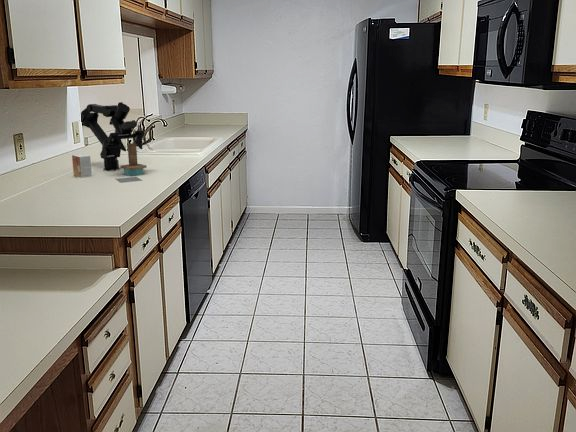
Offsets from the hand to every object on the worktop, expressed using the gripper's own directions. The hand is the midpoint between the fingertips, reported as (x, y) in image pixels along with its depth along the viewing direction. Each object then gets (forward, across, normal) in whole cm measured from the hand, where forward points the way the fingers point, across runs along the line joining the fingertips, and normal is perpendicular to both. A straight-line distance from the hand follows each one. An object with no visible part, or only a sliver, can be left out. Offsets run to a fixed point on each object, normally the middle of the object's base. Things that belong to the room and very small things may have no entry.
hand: (133, 149), depth 272 cm
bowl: (+8, 0, +10) cm, 13 cm away
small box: (-2, -20, +21) cm, 28 cm away
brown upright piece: (+6, 0, +8) cm, 9 cm away
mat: (+15, -10, +3) cm, 18 cm away
